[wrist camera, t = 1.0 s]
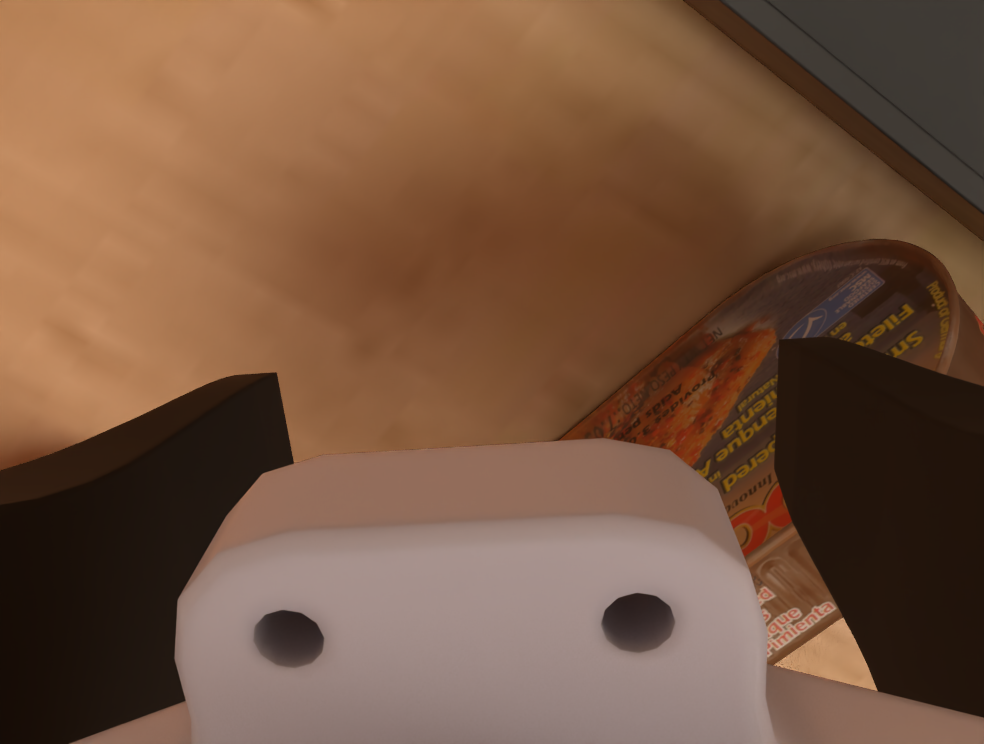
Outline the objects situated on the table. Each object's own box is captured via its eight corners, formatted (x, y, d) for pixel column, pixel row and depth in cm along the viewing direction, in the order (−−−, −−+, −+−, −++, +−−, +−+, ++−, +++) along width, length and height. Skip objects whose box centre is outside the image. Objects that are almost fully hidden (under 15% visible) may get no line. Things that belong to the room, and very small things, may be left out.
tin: (847, 195, 21) (1034, 309, 13) (924, 288, 22) (1143, 447, 14) (406, 564, 26) (354, 811, 18) (484, 630, 26) (468, 895, 19)
